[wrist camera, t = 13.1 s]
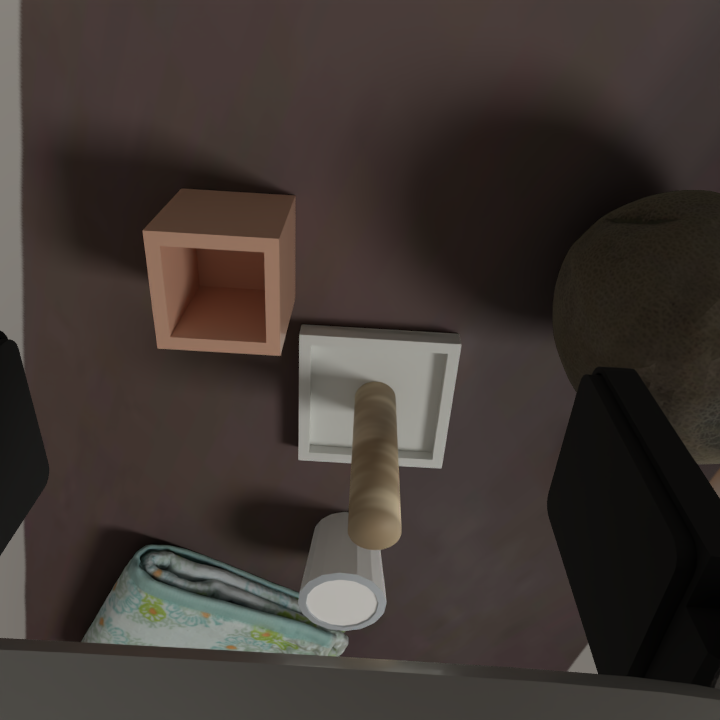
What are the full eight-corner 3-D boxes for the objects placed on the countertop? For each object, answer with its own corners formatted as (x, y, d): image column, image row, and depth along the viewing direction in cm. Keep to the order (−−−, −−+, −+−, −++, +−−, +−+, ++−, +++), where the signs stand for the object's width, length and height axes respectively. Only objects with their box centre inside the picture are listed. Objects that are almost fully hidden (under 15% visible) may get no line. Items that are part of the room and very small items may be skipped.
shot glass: (398, 550, 56) (400, 619, 50) (328, 571, 57) (322, 640, 51) (365, 496, 52) (363, 564, 46) (292, 520, 54) (281, 588, 48)
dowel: (397, 382, 46) (403, 513, 35) (394, 416, 47) (398, 551, 36) (355, 380, 46) (349, 510, 35) (353, 413, 47) (346, 548, 36)
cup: (295, 195, 39) (279, 239, 33) (295, 298, 43) (280, 355, 37) (181, 188, 39) (142, 230, 33) (190, 292, 43) (157, 348, 37)
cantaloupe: (506, 350, 45) (557, 500, 32) (562, 146, 38) (658, 235, 25) (700, 372, 45) (826, 528, 33) (792, 175, 38) (1003, 277, 25)
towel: (272, 700, 69) (265, 749, 64) (82, 635, 64) (60, 683, 59) (356, 608, 60) (354, 657, 56) (145, 524, 55) (125, 571, 51)
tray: (458, 333, 44) (461, 344, 43) (440, 455, 50) (441, 468, 49) (301, 324, 44) (299, 334, 43) (300, 447, 50) (298, 460, 49)
